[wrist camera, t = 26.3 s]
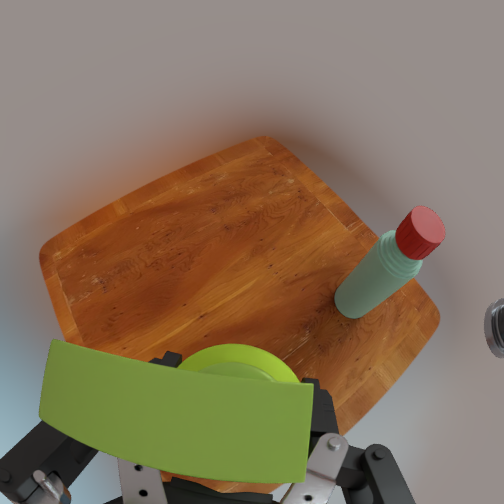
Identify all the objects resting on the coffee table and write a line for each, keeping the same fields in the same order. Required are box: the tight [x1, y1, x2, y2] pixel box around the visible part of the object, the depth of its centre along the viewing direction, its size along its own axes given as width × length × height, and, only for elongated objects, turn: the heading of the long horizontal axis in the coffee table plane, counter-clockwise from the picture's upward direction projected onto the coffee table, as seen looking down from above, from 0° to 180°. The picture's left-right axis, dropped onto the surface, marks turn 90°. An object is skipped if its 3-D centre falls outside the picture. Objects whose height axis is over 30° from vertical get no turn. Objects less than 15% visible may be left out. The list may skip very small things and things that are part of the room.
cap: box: [395, 206, 445, 260], centre depth 23 cm, size 4×4×3 cm
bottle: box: [335, 230, 422, 319], centre depth 31 cm, size 6×6×19 cm
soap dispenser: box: [39, 339, 314, 483], centre depth 13 cm, size 6×7×20 cm
